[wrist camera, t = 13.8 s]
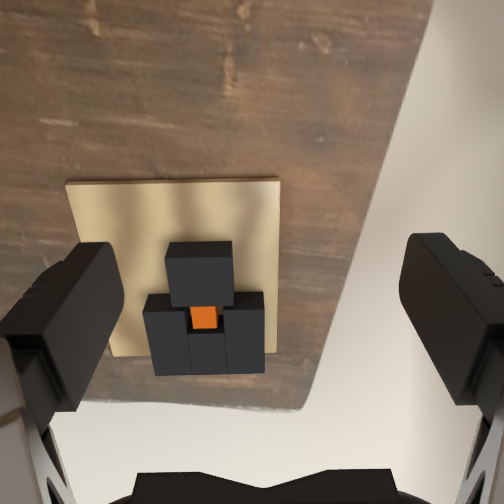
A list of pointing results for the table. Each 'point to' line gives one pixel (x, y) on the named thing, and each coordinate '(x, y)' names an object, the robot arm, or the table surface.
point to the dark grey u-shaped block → (206, 337)
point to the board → (180, 238)
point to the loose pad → (201, 278)
